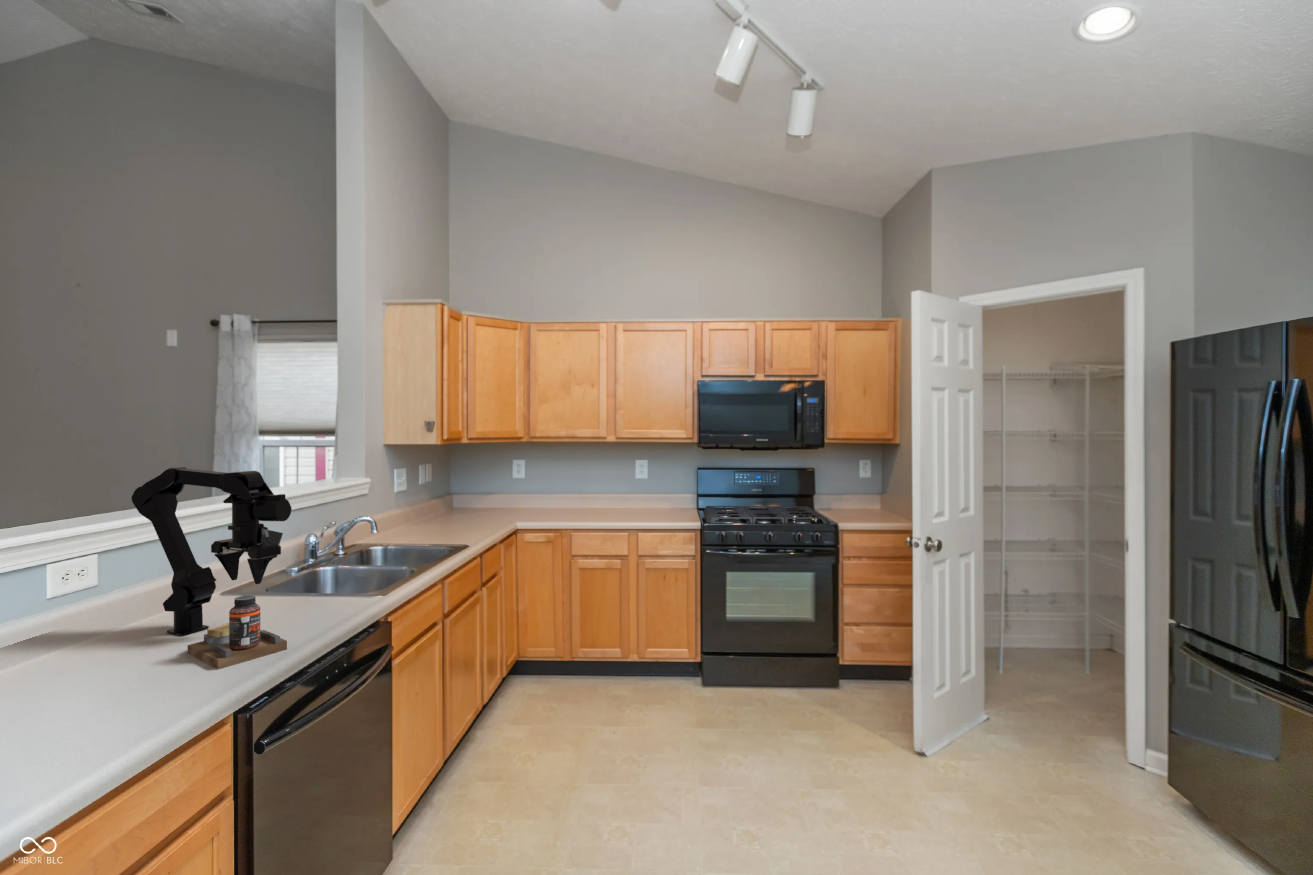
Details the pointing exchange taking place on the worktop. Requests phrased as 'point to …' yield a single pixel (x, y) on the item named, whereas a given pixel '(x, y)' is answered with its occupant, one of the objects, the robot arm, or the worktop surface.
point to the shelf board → (222, 656)
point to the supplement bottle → (244, 623)
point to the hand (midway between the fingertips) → (246, 581)
